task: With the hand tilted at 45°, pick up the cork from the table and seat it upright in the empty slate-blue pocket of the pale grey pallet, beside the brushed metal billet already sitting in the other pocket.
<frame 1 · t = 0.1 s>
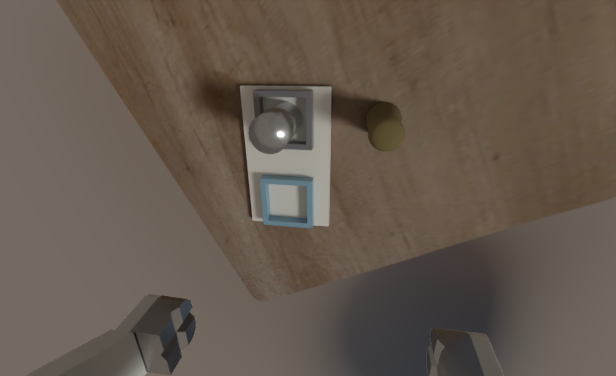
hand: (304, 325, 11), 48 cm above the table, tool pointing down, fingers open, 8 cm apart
cork: (383, 119, 54), on the table
pallet board: (288, 159, 60), on the table
metal billet: (285, 118, 56), point 1 cm above the table, touching pallet board
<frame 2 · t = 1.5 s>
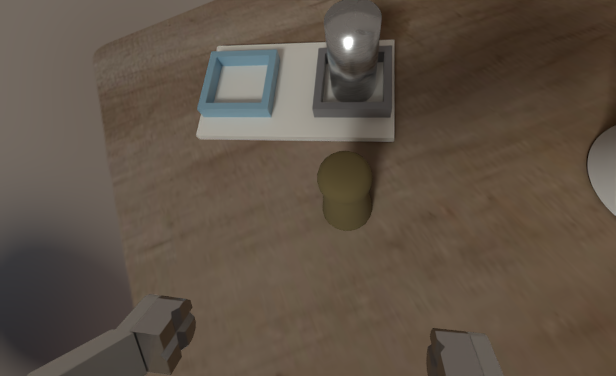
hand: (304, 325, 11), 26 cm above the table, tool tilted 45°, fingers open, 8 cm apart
cork: (347, 207, 39), on the table
pallet board: (297, 91, 46), on the table
metal billet: (353, 86, 43), point 1 cm above the table, touching pallet board
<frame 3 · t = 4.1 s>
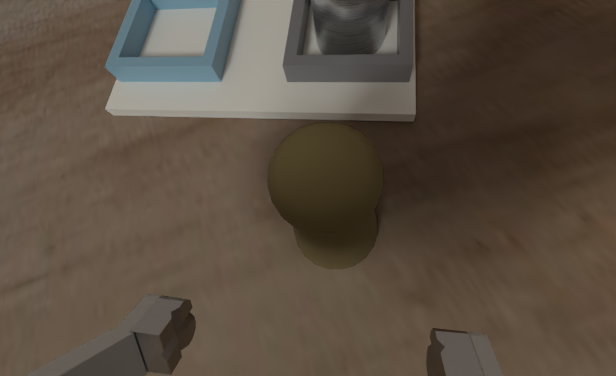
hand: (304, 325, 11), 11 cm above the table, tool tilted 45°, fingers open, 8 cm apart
cork: (335, 227, 23), on the table
pallet board: (265, 45, 30), on the table
metal billet: (350, 35, 28), point 1 cm above the table, touching pallet board
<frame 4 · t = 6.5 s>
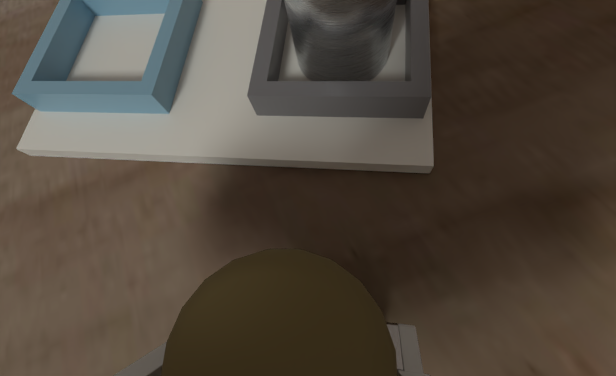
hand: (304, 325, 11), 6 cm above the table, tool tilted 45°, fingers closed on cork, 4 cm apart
cork: (319, 333, 16), on the table, touching gripper
pallet board: (232, 63, 23), on the table
metal billet: (342, 51, 21), point 1 cm above the table, touching pallet board
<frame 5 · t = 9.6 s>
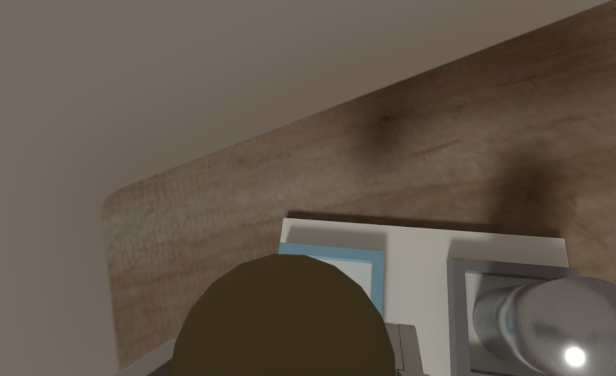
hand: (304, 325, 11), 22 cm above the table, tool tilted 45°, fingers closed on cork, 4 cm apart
cork: (320, 334, 16), point 15 cm above the table, touching gripper
pallet board: (412, 312, 30), on the table
metal billet: (508, 323, 28), point 1 cm above the table, touching pallet board
when the fingers open (8 cm above the table, at t = 12.9 s): cork stays where it is, resting on pallet board.
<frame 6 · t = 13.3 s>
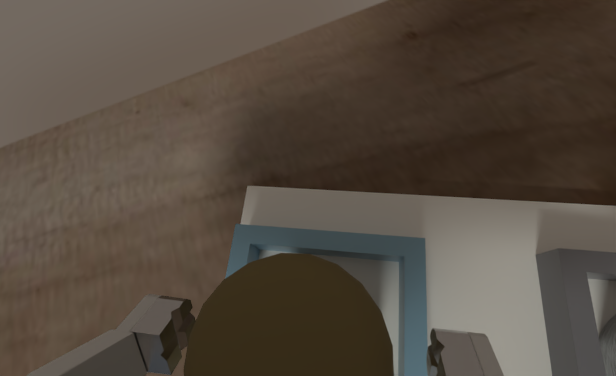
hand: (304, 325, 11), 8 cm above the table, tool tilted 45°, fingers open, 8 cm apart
cork: (321, 330, 17), point 1 cm above the table, touching pallet board
pallet board: (475, 349, 16), on the table
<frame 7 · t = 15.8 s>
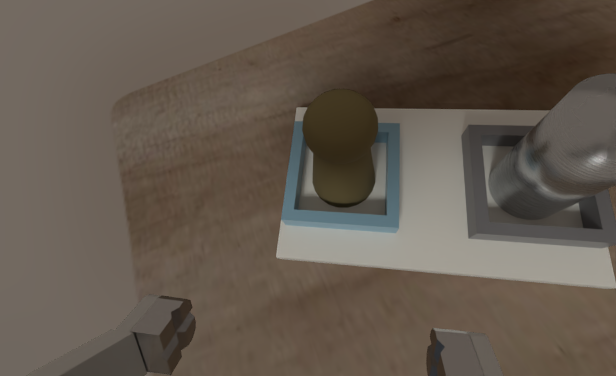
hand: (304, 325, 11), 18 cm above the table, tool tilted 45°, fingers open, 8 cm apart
cork: (343, 178, 31), point 1 cm above the table, touching pallet board
pallet board: (427, 186, 30), on the table
metal billet: (524, 187, 28), point 1 cm above the table, touching pallet board
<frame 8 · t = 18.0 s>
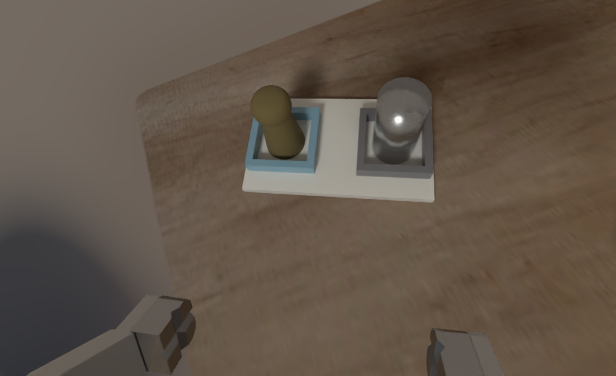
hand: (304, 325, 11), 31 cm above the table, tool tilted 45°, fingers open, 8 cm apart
cork: (286, 142, 48), point 1 cm above the table, touching pallet board
pallet board: (338, 147, 48), on the table
metal billet: (392, 145, 46), point 1 cm above the table, touching pallet board
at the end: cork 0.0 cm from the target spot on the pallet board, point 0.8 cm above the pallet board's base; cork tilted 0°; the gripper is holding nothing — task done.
